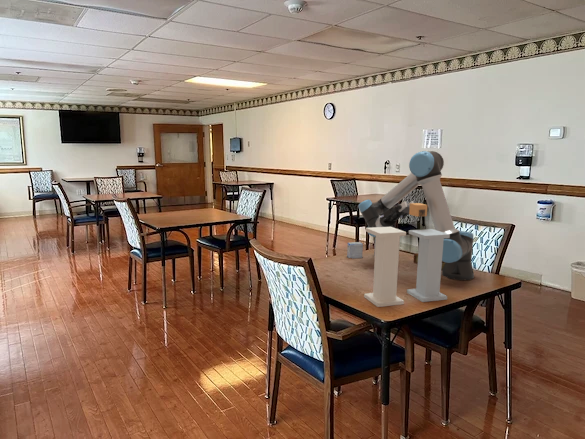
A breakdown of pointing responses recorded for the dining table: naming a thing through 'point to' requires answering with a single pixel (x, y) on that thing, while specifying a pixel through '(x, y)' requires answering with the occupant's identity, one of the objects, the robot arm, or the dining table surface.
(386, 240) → the stand
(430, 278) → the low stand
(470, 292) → the dining table surface
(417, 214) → the orange and black bar
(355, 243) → the medicine box
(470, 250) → the robot arm
